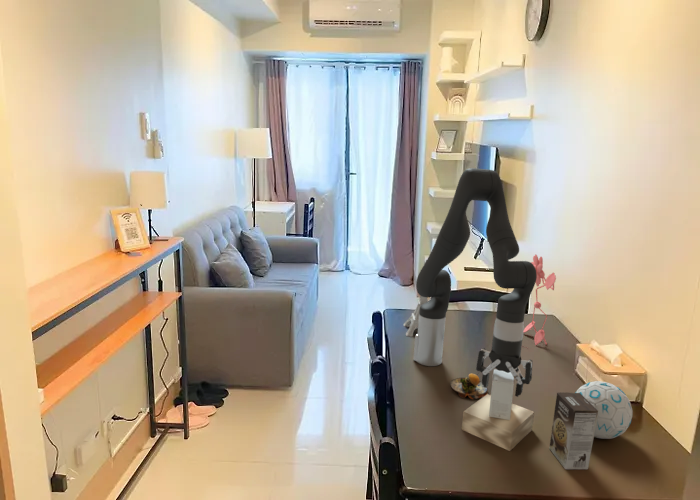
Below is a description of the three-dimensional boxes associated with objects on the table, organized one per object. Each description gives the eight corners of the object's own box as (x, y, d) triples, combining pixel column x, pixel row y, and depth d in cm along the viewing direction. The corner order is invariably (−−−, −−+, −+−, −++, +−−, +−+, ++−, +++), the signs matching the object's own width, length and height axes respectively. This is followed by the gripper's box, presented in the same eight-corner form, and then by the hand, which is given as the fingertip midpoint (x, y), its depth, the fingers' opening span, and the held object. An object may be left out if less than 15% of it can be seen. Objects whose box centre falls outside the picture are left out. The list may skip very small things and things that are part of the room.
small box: (510, 421, 141) (514, 384, 138) (488, 417, 142) (492, 380, 140) (510, 406, 148) (514, 371, 146) (489, 403, 150) (493, 368, 147)
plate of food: (463, 378, 177) (465, 358, 175) (494, 392, 169) (497, 370, 167) (442, 389, 168) (444, 368, 167) (474, 404, 160) (476, 381, 159)
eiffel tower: (439, 338, 211) (446, 264, 204) (406, 336, 211) (411, 263, 205) (435, 326, 224) (440, 256, 218) (403, 324, 224) (408, 255, 218)
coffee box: (547, 448, 139) (555, 391, 135) (571, 448, 139) (580, 391, 136) (564, 470, 130) (573, 410, 126) (589, 469, 130) (599, 410, 127)
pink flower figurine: (532, 328, 226) (542, 248, 219) (557, 353, 201) (569, 263, 194) (496, 327, 226) (505, 247, 218) (517, 351, 200) (528, 262, 193)
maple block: (461, 431, 146) (463, 411, 144) (485, 412, 156) (487, 394, 155) (509, 452, 137) (512, 431, 136) (531, 431, 147) (534, 411, 146)
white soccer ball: (560, 418, 154) (567, 370, 151) (612, 421, 154) (620, 373, 150) (580, 448, 139) (588, 396, 136) (638, 452, 139) (648, 399, 136)
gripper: (477, 332, 141) (471, 389, 144) (532, 345, 134) (524, 404, 137) (485, 324, 147) (479, 378, 151) (538, 336, 140) (531, 393, 144)
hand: (501, 391), depth 144 cm, fingers open, 8 cm apart
